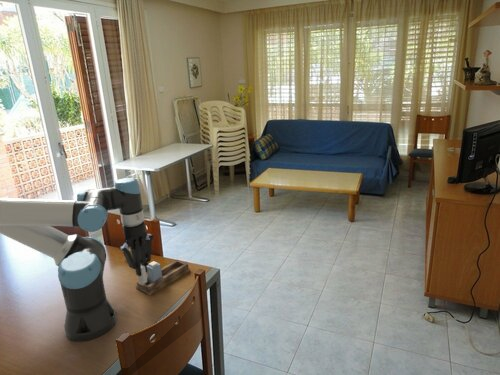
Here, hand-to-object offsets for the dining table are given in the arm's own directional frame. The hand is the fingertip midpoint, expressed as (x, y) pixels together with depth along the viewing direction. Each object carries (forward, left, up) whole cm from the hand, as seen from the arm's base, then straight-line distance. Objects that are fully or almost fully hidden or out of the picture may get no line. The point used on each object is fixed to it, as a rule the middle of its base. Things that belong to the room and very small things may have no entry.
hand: (143, 281), depth 133 cm
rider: (+5, 0, -3) cm, 6 cm away
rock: (+11, +20, -4) cm, 24 cm away
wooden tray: (+9, 0, -4) cm, 10 cm away
